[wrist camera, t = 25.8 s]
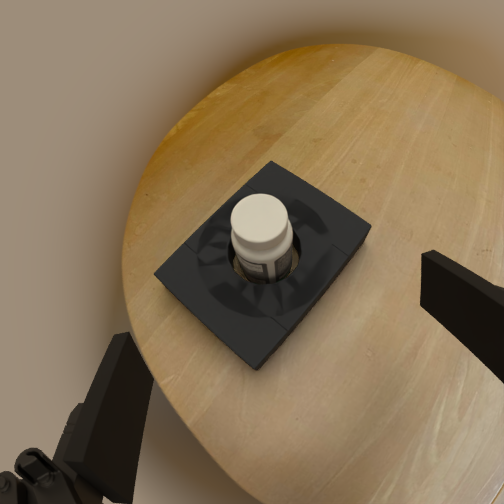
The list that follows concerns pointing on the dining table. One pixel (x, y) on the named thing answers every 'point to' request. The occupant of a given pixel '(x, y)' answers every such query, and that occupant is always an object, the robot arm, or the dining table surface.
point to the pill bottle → (262, 238)
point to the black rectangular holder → (266, 295)
